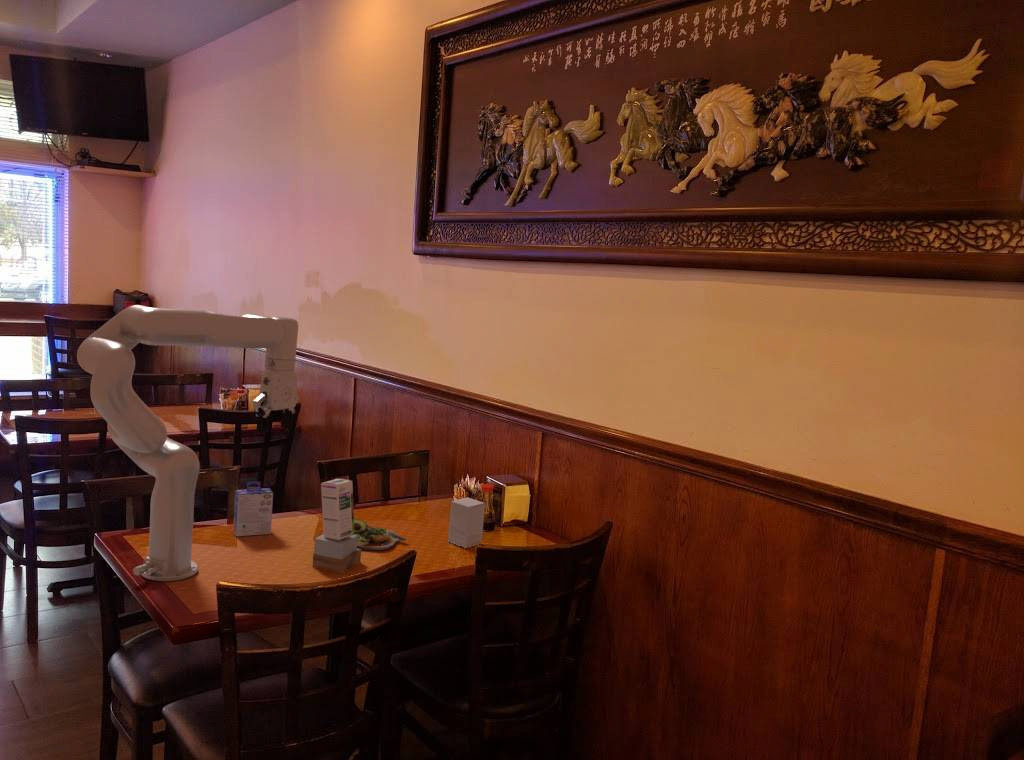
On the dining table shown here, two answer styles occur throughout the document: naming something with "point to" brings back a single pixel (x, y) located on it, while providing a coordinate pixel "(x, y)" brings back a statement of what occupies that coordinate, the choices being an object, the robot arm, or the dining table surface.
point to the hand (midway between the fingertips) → (274, 430)
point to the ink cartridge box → (253, 510)
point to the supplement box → (466, 522)
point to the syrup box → (337, 509)
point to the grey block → (335, 546)
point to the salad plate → (374, 536)
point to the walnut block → (337, 562)
